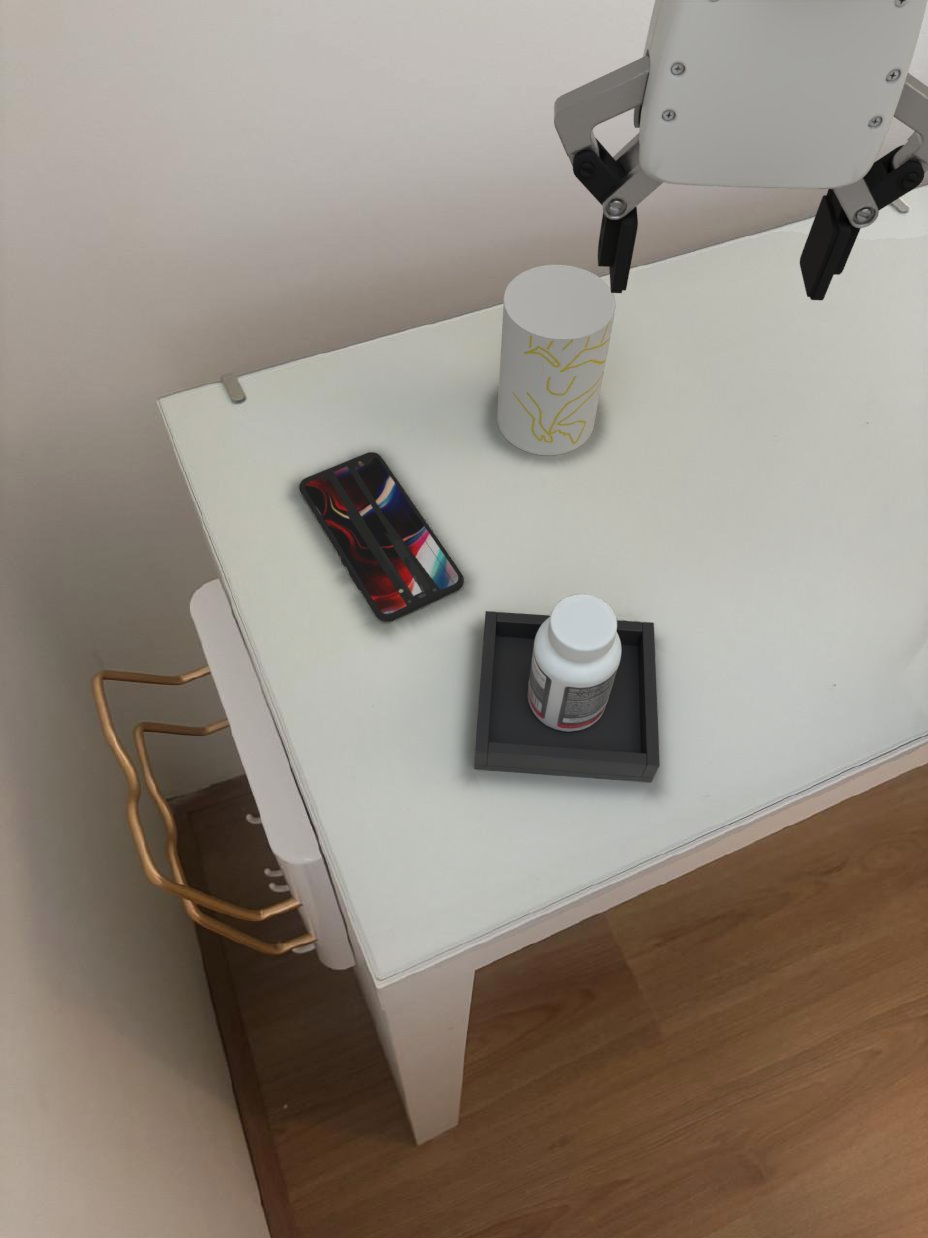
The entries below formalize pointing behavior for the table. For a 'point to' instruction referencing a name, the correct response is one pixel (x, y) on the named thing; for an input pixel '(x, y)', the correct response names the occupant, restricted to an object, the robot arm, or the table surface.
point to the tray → (530, 746)
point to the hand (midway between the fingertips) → (713, 278)
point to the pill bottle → (574, 663)
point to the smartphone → (380, 536)
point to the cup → (553, 357)
